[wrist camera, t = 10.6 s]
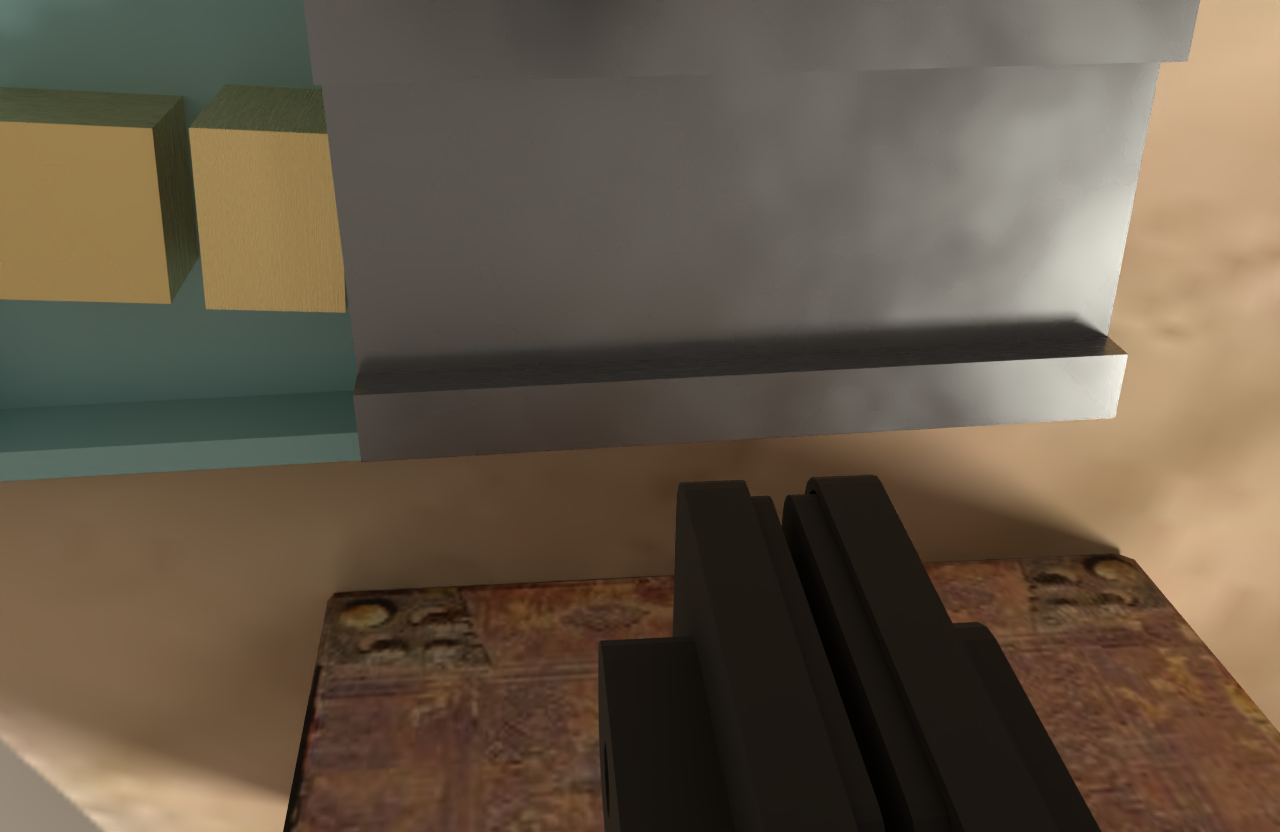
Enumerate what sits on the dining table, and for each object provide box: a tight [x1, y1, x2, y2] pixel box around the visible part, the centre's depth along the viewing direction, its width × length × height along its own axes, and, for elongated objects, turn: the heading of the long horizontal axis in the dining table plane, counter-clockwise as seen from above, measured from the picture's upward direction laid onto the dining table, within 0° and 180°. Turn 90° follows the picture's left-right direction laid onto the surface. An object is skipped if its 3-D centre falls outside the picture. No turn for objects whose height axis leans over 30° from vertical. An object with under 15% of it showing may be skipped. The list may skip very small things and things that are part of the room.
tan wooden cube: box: [0, 87, 198, 304], centre depth 28 cm, size 4×4×3 cm
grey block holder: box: [303, 0, 1200, 462], centre depth 28 cm, size 10×17×7 cm, turn 90°
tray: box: [0, 0, 361, 482], centre depth 28 cm, size 14×13×3 cm
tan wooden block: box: [189, 84, 348, 313], centre depth 28 cm, size 4×4×3 cm
